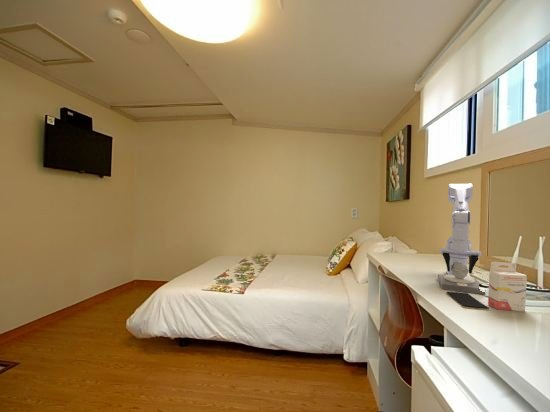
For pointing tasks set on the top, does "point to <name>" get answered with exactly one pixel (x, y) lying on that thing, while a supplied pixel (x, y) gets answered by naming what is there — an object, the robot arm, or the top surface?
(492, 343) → the top surface
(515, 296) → the ink cartridge box
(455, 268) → the gray bumpy ball
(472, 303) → the smartphone
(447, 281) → the kitchen scale
